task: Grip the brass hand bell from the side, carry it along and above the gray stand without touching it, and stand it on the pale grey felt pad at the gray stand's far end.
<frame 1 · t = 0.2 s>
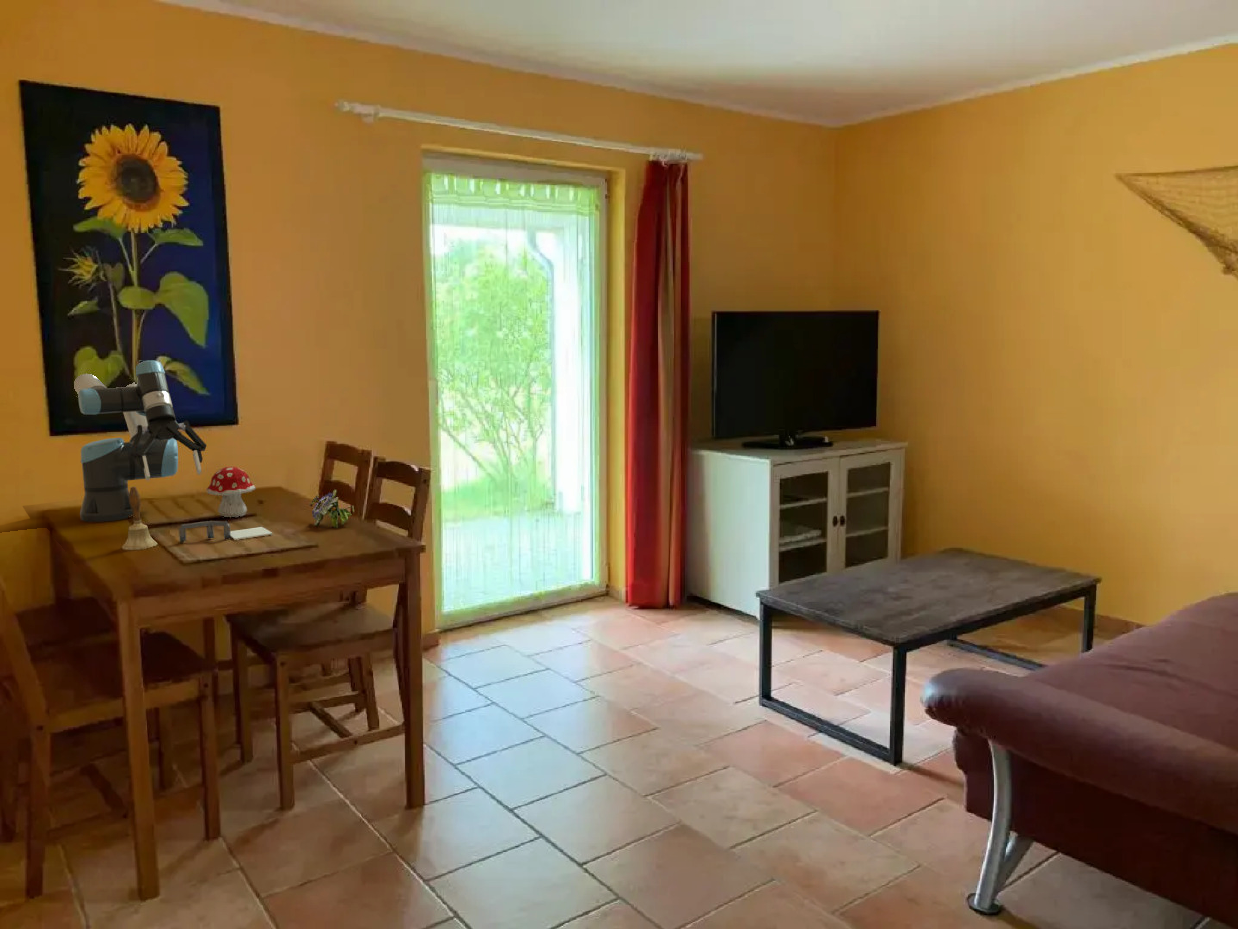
hand: (174, 475, 273), 15 cm above the table, tool tilted 35°, fingers open, 13 cm apart
gray stand: (197, 540, 258), on the table
pad: (248, 534, 264), on the table
passion flower: (332, 525, 276), on the table
decorative mushroom: (233, 516, 290), on the table
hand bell: (140, 547, 253), on the table
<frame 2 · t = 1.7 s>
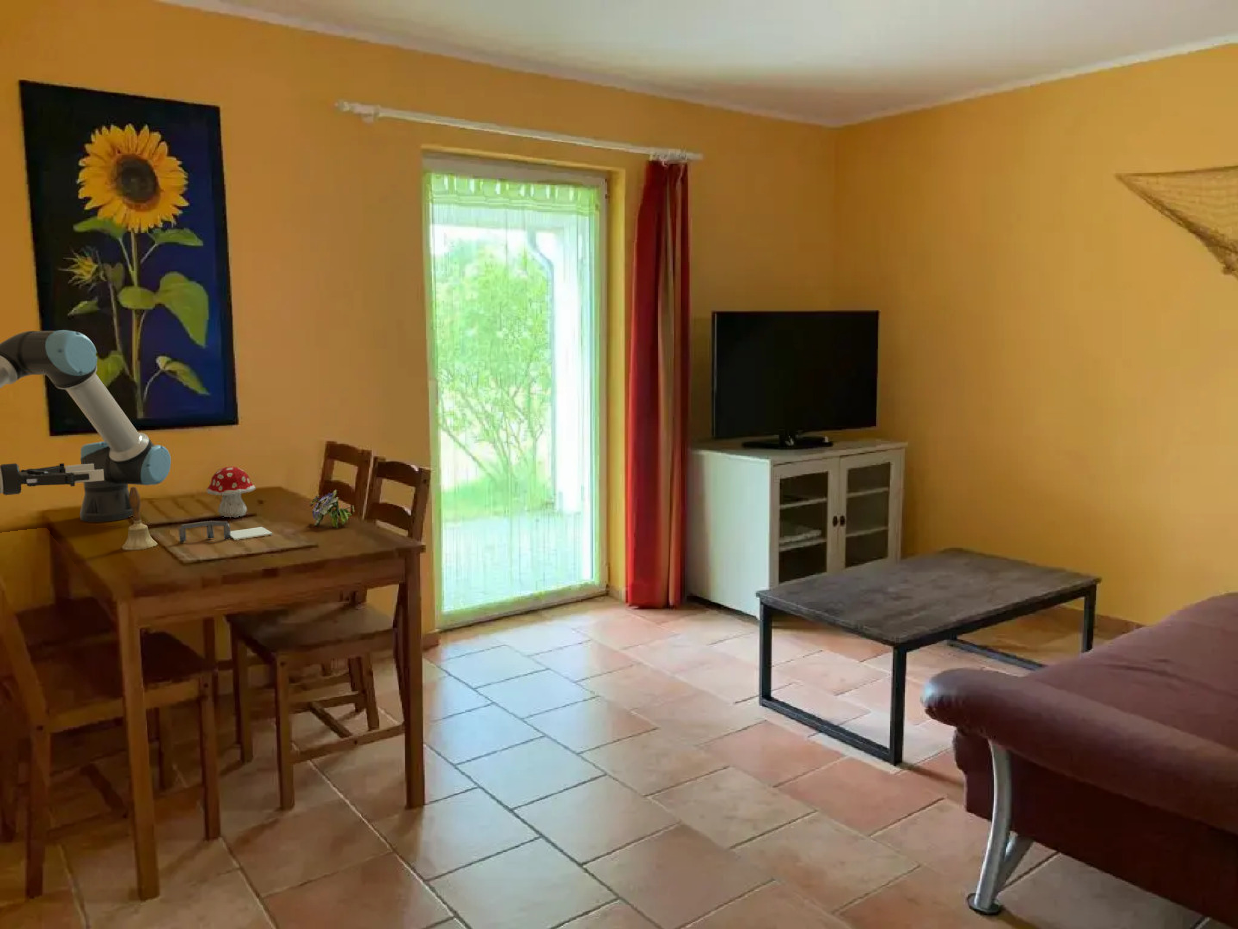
hand: (98, 471, 245), 21 cm above the table, tool horizontal, fingers open, 13 cm apart
nothing on the table moved.
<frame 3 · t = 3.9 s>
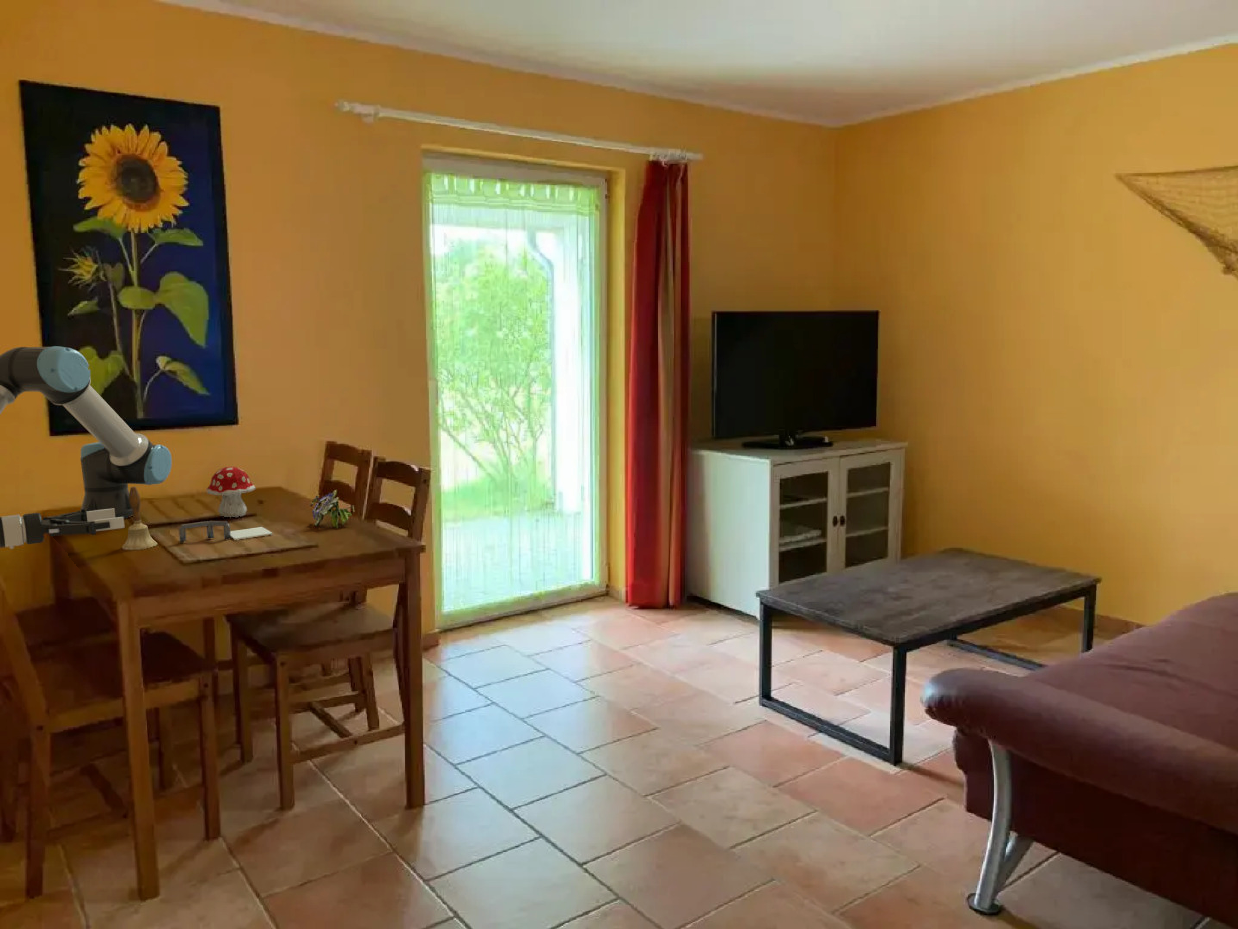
hand: (119, 517, 249), 8 cm above the table, tool horizontal, fingers open, 13 cm apart
nothing on the table moved.
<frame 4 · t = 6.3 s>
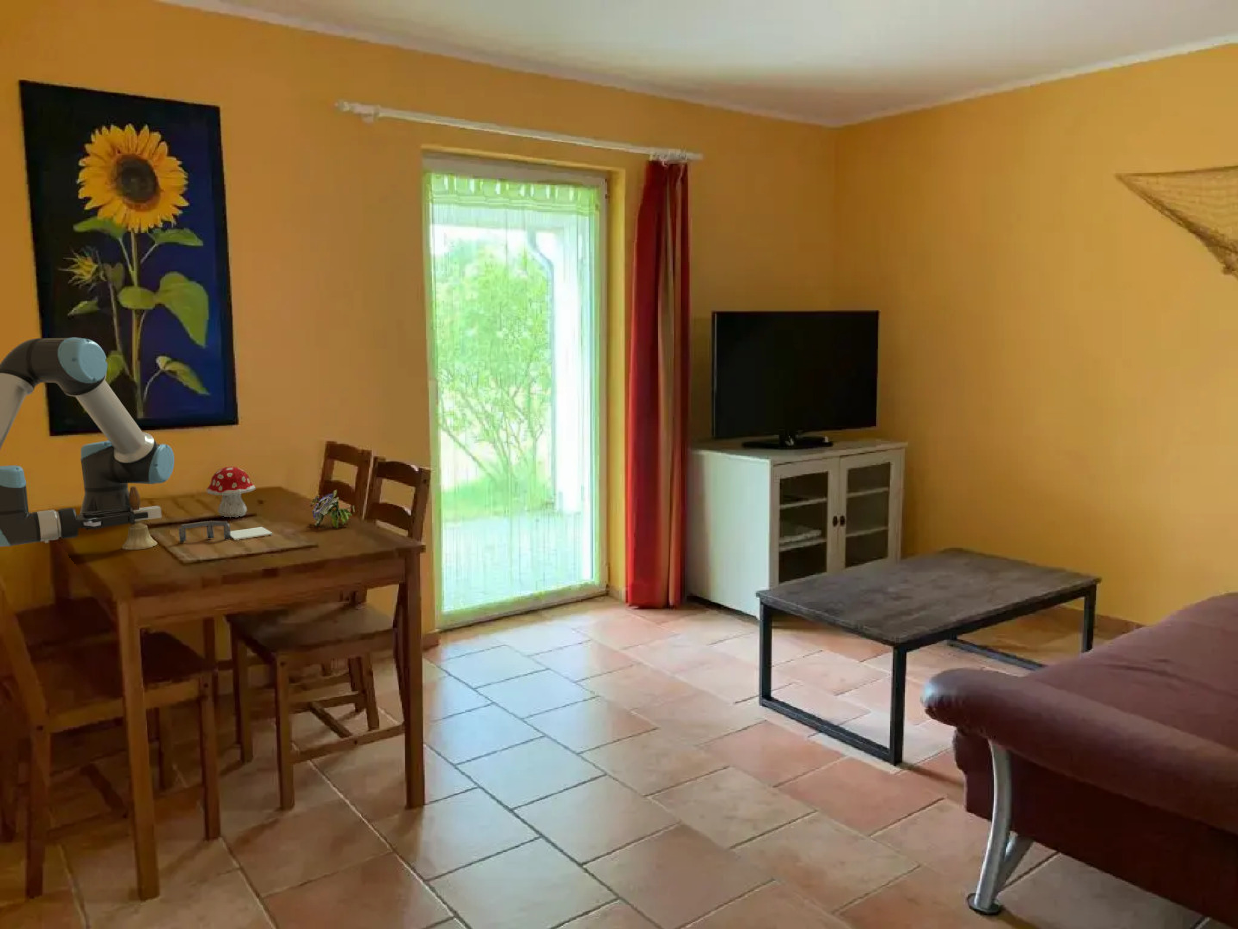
hand: (159, 511, 255), 9 cm above the table, tool horizontal, fingers closed on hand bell, 2 cm apart
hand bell: (140, 546, 253), on the table, touching gripper
everything else where it was.
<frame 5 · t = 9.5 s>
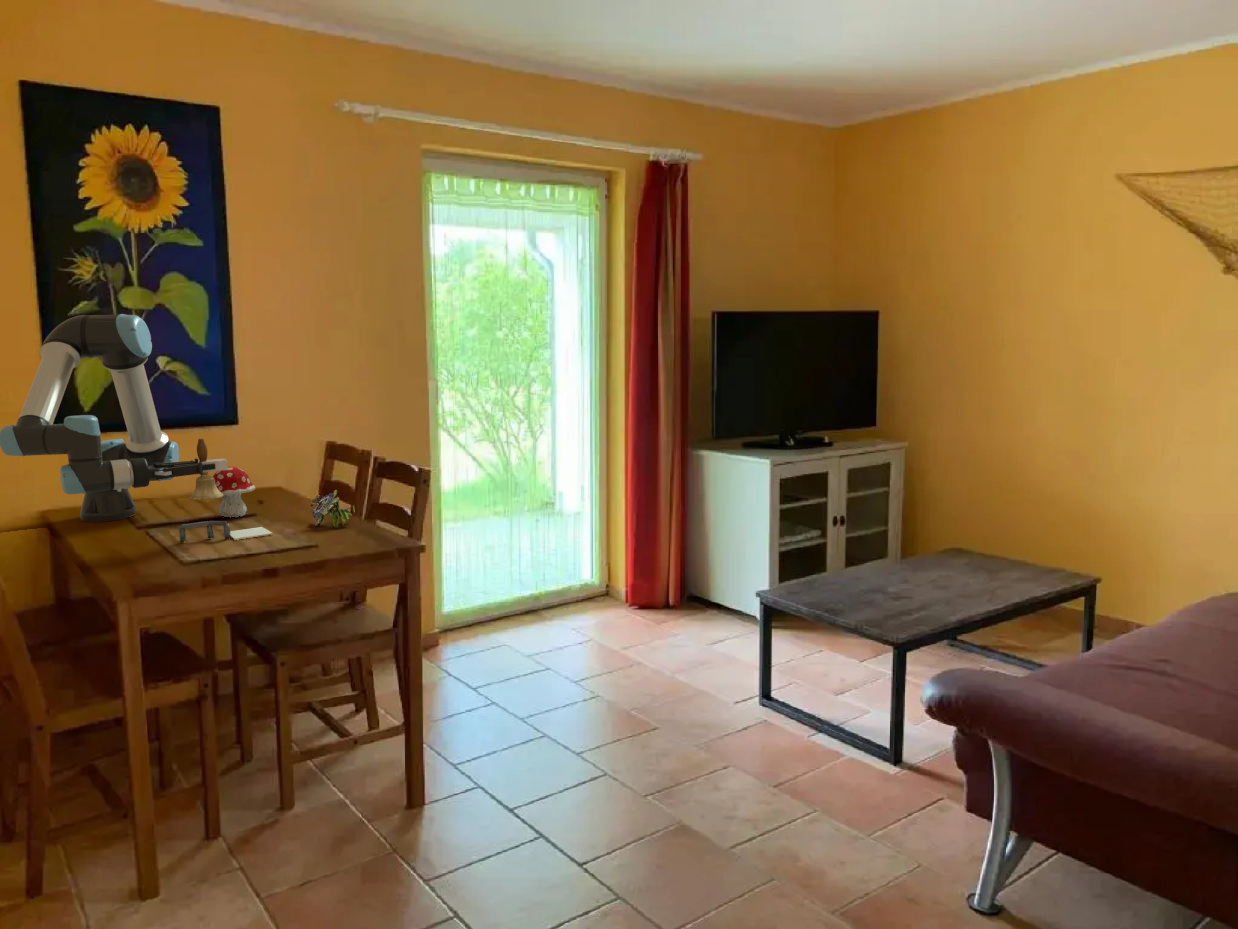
hand: (225, 464, 260), 20 cm above the table, tool horizontal, fingers closed on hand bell, 2 cm apart
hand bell: (206, 498, 259), point 11 cm above the table, touching gripper
everything else where it was.
when the fingers open (9 cm above the table, at t = 13.1 s): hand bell stays where it is, resting on pad.
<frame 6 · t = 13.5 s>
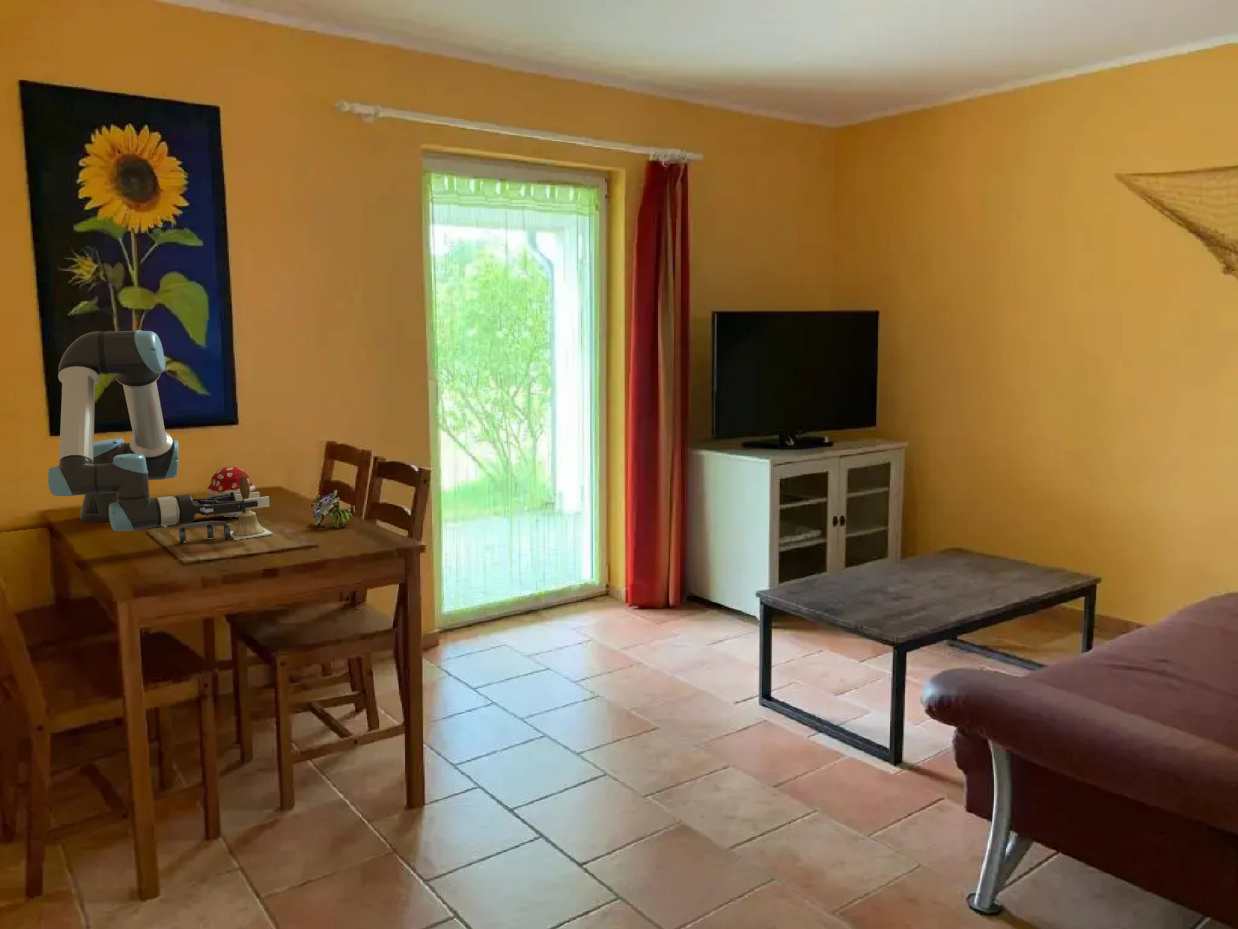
hand: (264, 499, 266), 9 cm above the table, tool horizontal, fingers open, 8 cm apart
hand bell: (248, 533, 264), resting on pad
everything else where it was.
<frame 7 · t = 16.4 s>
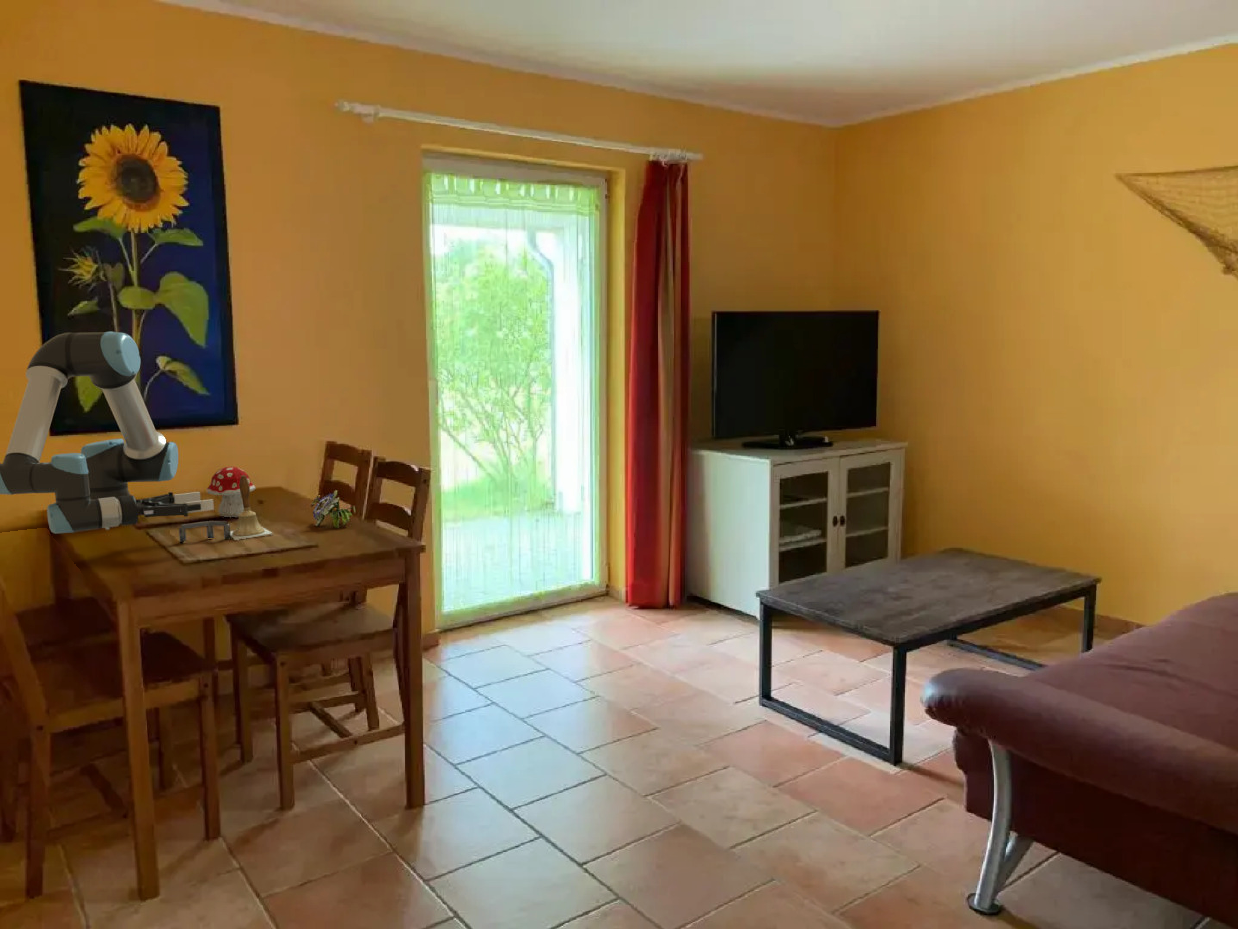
hand: (206, 500, 257), 11 cm above the table, tool horizontal, fingers open, 13 cm apart
nothing on the table moved.
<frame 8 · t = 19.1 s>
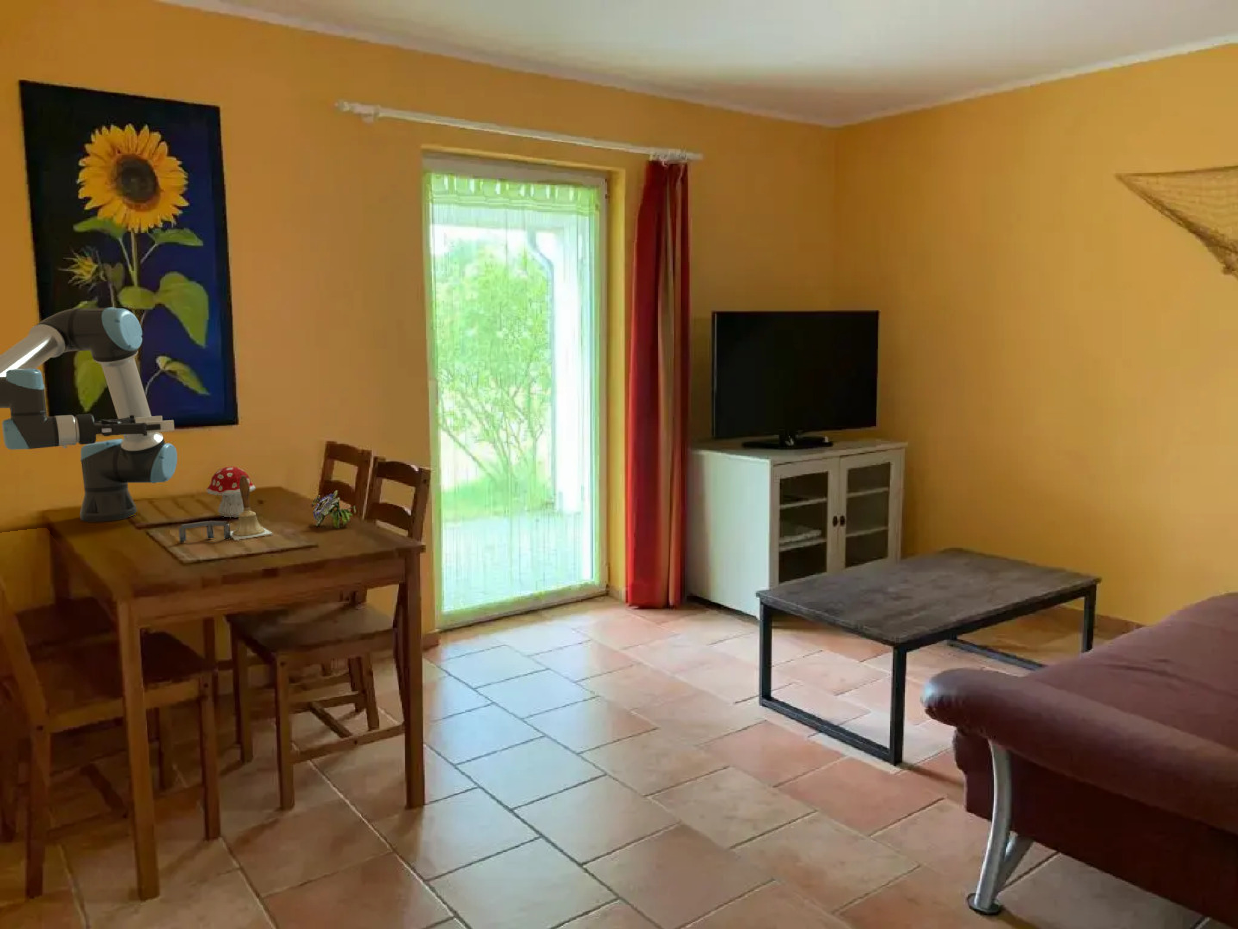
hand: (168, 423, 252), 32 cm above the table, tool horizontal, fingers open, 13 cm apart
nothing on the table moved.
at the end: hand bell inside the target area on the pad (0.1 cm from its centre), point 0.4 cm above the pad's base; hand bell tilted 0°; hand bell touching pad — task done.
